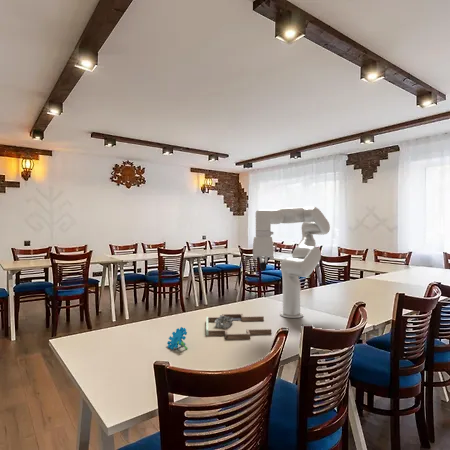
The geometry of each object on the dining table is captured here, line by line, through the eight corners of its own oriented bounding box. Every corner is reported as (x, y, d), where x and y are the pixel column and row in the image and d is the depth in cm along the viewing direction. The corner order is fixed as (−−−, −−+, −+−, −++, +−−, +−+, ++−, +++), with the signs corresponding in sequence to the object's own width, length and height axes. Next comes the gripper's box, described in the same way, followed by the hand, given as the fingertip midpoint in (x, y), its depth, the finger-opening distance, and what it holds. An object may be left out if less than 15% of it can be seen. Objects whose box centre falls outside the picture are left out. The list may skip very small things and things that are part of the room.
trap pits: (224, 318, 181) (224, 317, 181) (240, 318, 181) (240, 317, 181) (227, 338, 150) (227, 337, 150) (247, 337, 150) (247, 337, 150)
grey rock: (228, 329, 163) (228, 321, 163) (213, 328, 165) (213, 319, 165) (234, 323, 173) (234, 315, 173) (220, 321, 176) (220, 313, 176)
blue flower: (163, 340, 143) (180, 322, 145) (172, 348, 145) (188, 330, 147) (171, 353, 133) (188, 333, 135) (180, 361, 135) (198, 341, 138)
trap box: (208, 318, 181) (208, 314, 181) (261, 317, 183) (261, 313, 183) (208, 339, 148) (208, 335, 148) (273, 338, 150) (273, 333, 150)
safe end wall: (206, 321, 176) (206, 316, 176) (208, 321, 176) (208, 316, 176) (206, 335, 154) (206, 330, 154) (208, 335, 154) (208, 330, 154)
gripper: (276, 233, 175) (276, 269, 175) (247, 234, 174) (247, 269, 174) (279, 234, 167) (279, 271, 168) (249, 234, 167) (249, 271, 167)
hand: (263, 270), depth 171 cm, fingers closed
